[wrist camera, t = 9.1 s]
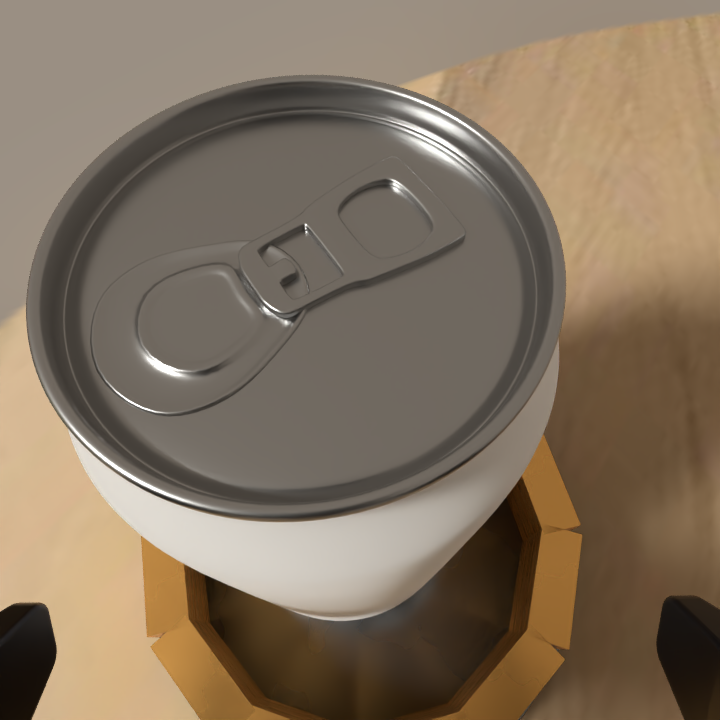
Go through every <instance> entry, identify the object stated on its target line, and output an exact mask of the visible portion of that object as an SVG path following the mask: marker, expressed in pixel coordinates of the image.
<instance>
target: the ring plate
mask: <svg viewBox="0 0 720 720" xmlns="http://www.w3.org/2000/svg"><path fill="white" fill-rule="evenodd" d="M580 525H581V524H580V522H579V519H578V517H577V514H576V512H575V509H574V507H573V505H572V502H571V500H570V497H569V495H568V492H567V490H566V487H565V485H564V483H563V480H562V478H561V475H560V473H559V470H558V468H557V465H556V463H555V461H554V458H553V456H552V453H551V451H550V448H549V446H548V443H547V441H546V439H545V436H544V434H543V436H542V438H541V440H540V442H539V444H538V447H537V449H536V451H535V453H534V455H533V457H532V459H531V461H530V463H529V464H528V466H527V468H526V469H525V471H524V473H523V474H522V476H521V477H520V479H519V480H518V482H517V483H516V485H515V486H514V487H513V489H512V490H511V491H510V493H509V494H508V495H507V497H506V498H505V499H504V500H503V502H502V503H501V504H500V506H499V507H498V508H497V509H496V510H495V512H494V513H493V514H492V515H491V516H490V517H489V518H488V520H487V521H486V522H485V523H484V524H483V525H482V526H481V527H480V528H479V529H478V531H477V532H476V533H475V534H474V535H473V536H472V537H471V538H470V539H469V540H468V541H467V542H466V543H465V544H464V545H463V546H462V547H461V548H460V549H459V551H458V552H457V553H456V554H455V555H454V556H453V557H452V558H451V559H450V560H449V561H448V562H447V563H446V564H445V565H444V566H443V567H442V568H441V569H440V570H439V571H438V572H437V573H436V574H435V575H434V576H433V577H432V578H431V579H430V580H429V581H428V582H427V583H426V584H425V585H424V586H423V587H422V588H420V589H419V590H418V591H417V592H416V593H415V594H413V595H412V596H411V597H410V598H408V599H407V600H405V601H404V602H402V603H401V604H399V605H397V606H396V607H394V608H392V609H390V610H388V611H386V612H383V613H381V614H378V615H375V616H372V617H368V618H364V619H358V620H350V621H331V620H323V619H317V618H312V617H309V616H305V615H302V614H299V613H296V612H293V611H291V610H288V609H286V608H283V607H280V606H278V605H275V604H273V603H270V602H268V601H265V600H263V599H260V598H258V597H255V596H253V595H251V594H248V593H246V592H243V591H241V590H239V589H236V588H234V587H232V586H229V585H227V584H225V583H223V582H220V581H218V580H216V579H214V578H211V577H209V576H207V575H205V574H203V573H200V572H199V571H197V570H195V569H193V568H191V567H189V566H187V565H185V564H184V563H182V562H180V561H178V560H176V559H175V558H173V557H171V556H170V555H168V554H166V553H165V552H163V551H162V550H160V549H159V548H157V547H156V546H154V545H153V544H151V543H150V542H149V541H148V540H146V539H145V538H144V537H142V536H141V542H142V559H143V576H144V592H145V609H146V626H147V637H160V639H159V640H157V641H156V642H155V643H154V644H153V645H152V646H151V648H152V650H153V651H154V653H155V654H156V656H157V657H158V659H159V660H160V662H161V663H162V664H163V666H164V667H165V669H166V670H167V672H168V673H169V675H170V676H171V677H172V679H173V680H174V682H175V683H176V685H177V686H178V688H179V689H180V691H181V692H182V693H183V695H184V696H185V698H186V699H187V701H188V702H189V704H190V705H191V707H192V708H193V709H194V711H195V712H196V714H197V715H198V717H199V718H200V720H520V719H521V718H522V716H523V715H524V714H525V712H526V711H527V709H528V708H529V707H530V705H531V704H532V702H533V701H534V699H535V698H536V696H537V695H538V694H539V692H540V691H541V690H542V688H543V687H544V686H545V685H546V683H547V682H548V681H549V680H550V678H551V677H552V676H553V674H554V673H555V672H556V671H557V669H558V668H559V667H560V666H561V664H562V663H563V662H564V661H565V659H564V658H563V657H562V656H561V655H560V654H559V653H558V650H559V649H567V650H569V647H570V639H571V630H572V621H573V612H574V604H575V595H576V586H577V577H578V568H579V560H580V551H581V542H582V535H581V534H578V533H575V532H571V530H573V529H575V528H577V527H578V526H580Z"/></svg>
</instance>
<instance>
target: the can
mask: <svg viewBox="0 0 720 720" xmlns="http://www.w3.org/2000/svg"><path fill="white" fill-rule="evenodd" d="M565 299H566V270H565V261H564V254H563V249H562V244H561V240H560V237H559V233H558V230H557V227H556V224H555V221H554V218H553V216H552V213H551V211H550V209H549V207H548V205H547V202H546V200H545V199H544V197H543V195H542V193H541V191H540V190H539V188H538V186H537V185H536V183H535V182H534V180H533V179H532V177H531V176H530V175H529V173H528V172H527V171H526V169H525V168H524V167H523V166H522V164H521V163H520V162H519V161H518V160H517V159H516V157H515V156H514V155H513V154H512V153H511V152H510V151H509V150H508V149H507V148H506V147H505V146H504V145H503V144H502V143H501V142H499V141H498V140H497V139H496V138H495V137H494V136H492V135H491V134H490V133H489V132H487V131H486V130H485V129H484V128H482V127H481V126H479V125H478V124H477V123H475V122H474V121H472V120H471V119H469V118H468V117H466V116H464V115H463V114H461V113H459V112H457V111H456V110H454V109H452V108H450V107H448V106H446V105H444V104H442V103H440V102H438V101H436V100H434V99H431V98H429V97H426V96H424V95H421V94H418V93H416V92H413V91H410V90H407V89H404V88H400V87H397V86H393V85H389V84H386V83H381V82H376V81H372V80H366V79H360V78H353V77H343V76H330V75H294V76H281V77H272V78H265V79H258V80H252V81H247V82H242V83H238V84H234V85H230V86H226V87H222V88H219V89H216V90H212V91H209V92H206V93H203V94H201V95H198V96H195V97H193V98H190V99H188V100H185V101H183V102H181V103H178V104H176V105H174V106H172V107H170V108H168V109H166V110H164V111H162V112H160V113H158V114H156V115H154V116H153V117H151V118H149V119H147V120H146V121H144V122H142V123H141V124H139V125H138V126H136V127H135V128H133V129H132V130H130V131H129V132H127V133H126V134H125V135H123V136H122V137H120V138H119V139H118V140H117V141H116V142H114V143H113V144H112V145H110V146H109V147H108V148H107V149H106V150H105V151H103V152H102V153H101V154H100V155H99V156H98V157H97V158H96V159H95V160H94V161H93V162H92V163H91V164H90V165H89V166H88V167H87V168H86V169H85V170H84V171H83V172H82V174H81V175H80V176H79V177H78V178H77V179H76V181H75V182H74V183H73V184H72V186H71V187H70V188H69V189H68V191H67V192H66V194H65V195H64V197H63V198H62V200H61V201H60V202H59V204H58V206H57V207H56V209H55V211H54V212H53V214H52V216H51V218H50V220H49V222H48V224H47V226H46V228H45V230H44V232H43V234H42V237H41V239H40V241H39V244H38V247H37V250H36V253H35V256H34V259H33V263H32V267H31V271H30V276H29V282H28V289H27V301H26V321H27V333H28V340H29V346H30V351H31V355H32V359H33V363H34V366H35V369H36V372H37V375H38V377H39V380H40V382H41V385H42V387H43V389H44V391H45V393H46V395H47V397H48V399H49V401H50V403H51V404H52V406H53V408H54V409H55V411H56V413H57V414H58V416H59V417H60V419H61V420H62V421H63V423H64V424H65V425H66V427H67V428H68V431H69V434H70V437H71V440H72V443H73V445H74V448H75V450H76V453H77V455H78V457H79V459H80V461H81V464H82V465H83V467H84V469H85V471H86V473H87V474H88V476H89V478H90V479H91V481H92V482H93V484H94V486H95V487H96V488H97V490H98V491H99V492H100V494H101V495H102V496H103V498H104V499H105V500H106V501H107V503H108V504H109V505H110V506H111V507H112V508H113V509H114V510H115V512H116V513H117V514H118V515H119V516H120V517H121V518H122V519H123V520H125V521H126V522H127V523H128V524H129V525H130V526H131V527H132V528H133V529H134V530H135V531H137V532H138V533H139V534H140V535H141V536H142V537H144V538H145V539H146V540H148V541H149V542H150V543H151V544H153V545H154V546H156V547H157V548H159V549H160V550H162V551H163V552H165V553H166V554H168V555H170V556H171V557H173V558H175V559H176V560H178V561H180V562H182V563H184V564H185V565H187V566H189V567H191V568H193V569H195V570H197V571H199V572H200V573H203V574H205V575H207V576H209V577H211V578H214V579H216V580H218V581H220V582H223V583H225V584H227V585H229V586H232V587H234V588H236V589H239V590H241V591H243V592H246V593H248V594H251V595H253V596H255V597H258V598H260V599H263V600H265V601H268V602H270V603H273V604H275V605H278V606H280V607H283V608H286V609H288V610H291V611H293V612H296V613H299V614H302V615H305V616H309V617H312V618H317V619H323V620H331V621H350V620H358V619H364V618H368V617H372V616H375V615H378V614H381V613H383V612H386V611H388V610H390V609H392V608H394V607H396V606H397V605H399V604H401V603H402V602H404V601H405V600H407V599H408V598H410V597H411V596H412V595H413V594H415V593H416V592H417V591H418V590H419V589H420V588H422V587H423V586H424V585H425V584H426V583H427V582H428V581H429V580H430V579H431V578H432V577H433V576H434V575H435V574H436V573H437V572H438V571H439V570H440V569H441V568H442V567H443V566H444V565H445V564H446V563H447V562H448V561H449V560H450V559H451V558H452V557H453V556H454V555H455V554H456V553H457V552H458V551H459V549H460V548H461V547H462V546H463V545H464V544H465V543H466V542H467V541H468V540H469V539H470V538H471V537H472V536H473V535H474V534H475V533H476V532H477V531H478V529H479V528H480V527H481V526H482V525H483V524H484V523H485V522H486V521H487V520H488V518H489V517H490V516H491V515H492V514H493V513H494V512H495V510H496V509H497V508H498V507H499V506H500V504H501V503H502V502H503V500H504V499H505V498H506V497H507V495H508V494H509V493H510V491H511V490H512V489H513V487H514V486H515V485H516V483H517V482H518V480H519V479H520V477H521V476H522V474H523V473H524V471H525V469H526V468H527V466H528V464H529V463H530V461H531V459H532V457H533V455H534V453H535V451H536V449H537V447H538V444H539V442H540V440H541V438H542V436H543V433H544V431H545V428H546V426H547V423H548V420H549V417H550V414H551V410H552V407H553V403H554V399H555V394H556V388H557V382H558V372H559V334H560V331H561V326H562V321H563V316H564V309H565Z"/></svg>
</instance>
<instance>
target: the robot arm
mask: <svg viewBox="0 0 720 720" xmlns="http://www.w3.org/2000/svg"><path fill="white" fill-rule="evenodd" d="M656 645H657V653H658V657H659V660H660V662H661V665H662V667H663V669H664V672H665V674H666V677H667V679H668V681H669V684H670V686H671V689H672V691H673V694H674V696H675V698H676V701H677V703H678V706H679V708H680V710H681V713H682V715H683V718H684V720H720V609H718V608H716V607H715V606H713V605H711V604H710V603H708V602H706V601H705V600H703V599H701V598H699V597H697V596H691V595H690V596H669V597H667V598H666V599H665V601H664V603H663V607H662V612H661V618H660V623H659V629H658V634H657V641H656ZM56 653H57V648H56V642H55V637H54V633H53V628H52V624H51V619H50V615H49V611H48V608H47V607H46V605H45V604H43V603H15V604H13V605H11V606H9V607H7V608H6V609H4V610H2V611H1V612H0V720H32V717H33V715H34V712H35V710H36V708H37V705H38V703H39V700H40V698H41V696H42V693H43V691H44V688H45V686H46V683H47V681H48V679H49V676H50V674H51V671H52V669H53V666H54V664H55V660H56Z"/></svg>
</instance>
